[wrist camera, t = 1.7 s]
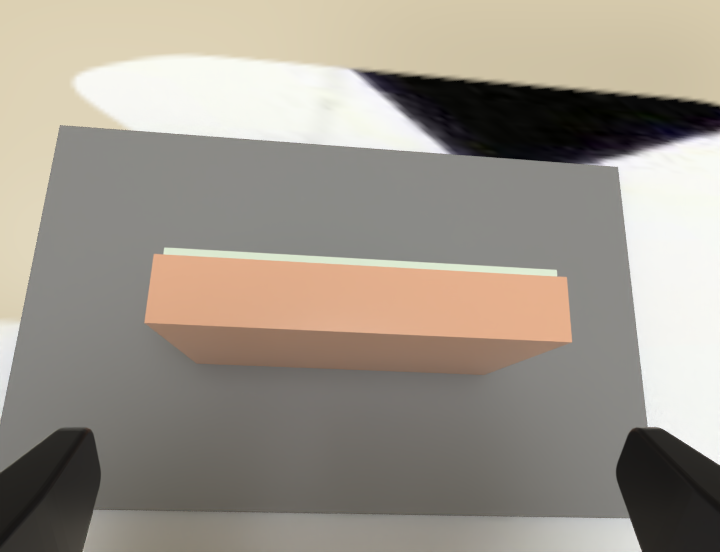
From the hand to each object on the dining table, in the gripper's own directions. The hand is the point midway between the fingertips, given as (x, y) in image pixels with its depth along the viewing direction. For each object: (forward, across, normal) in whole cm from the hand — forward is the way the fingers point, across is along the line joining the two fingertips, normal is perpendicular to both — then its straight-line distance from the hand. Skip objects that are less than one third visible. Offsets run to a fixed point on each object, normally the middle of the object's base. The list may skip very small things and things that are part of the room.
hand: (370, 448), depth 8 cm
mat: (+13, 0, +6) cm, 14 cm away
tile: (+12, 0, +6) cm, 14 cm away
